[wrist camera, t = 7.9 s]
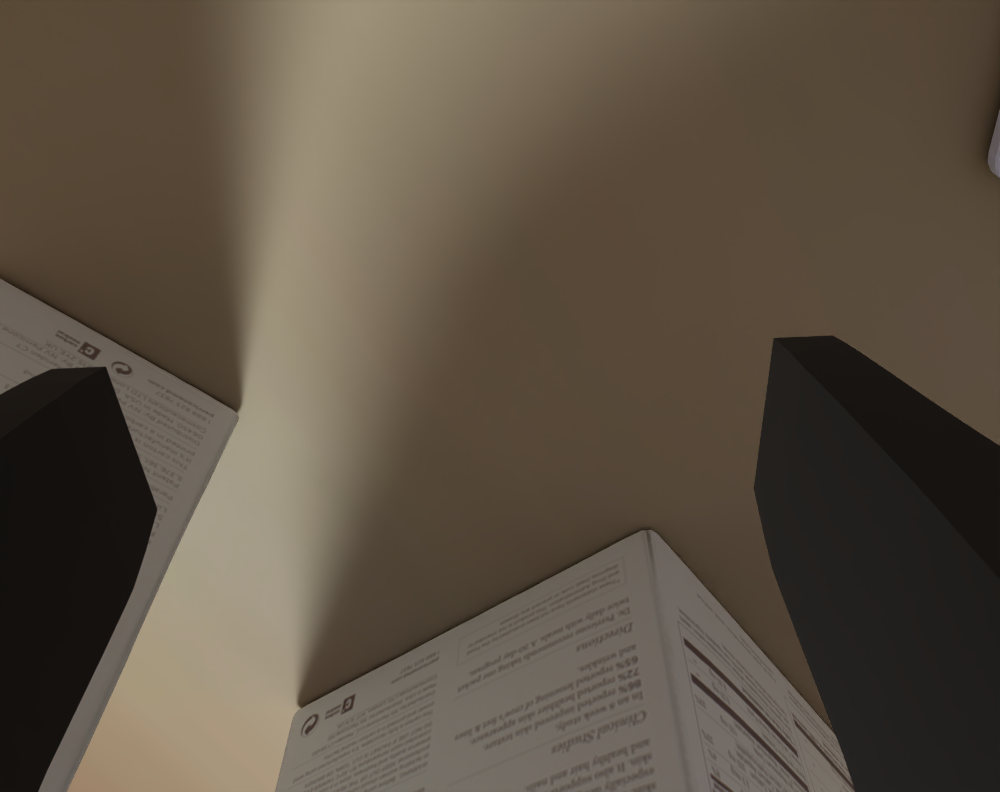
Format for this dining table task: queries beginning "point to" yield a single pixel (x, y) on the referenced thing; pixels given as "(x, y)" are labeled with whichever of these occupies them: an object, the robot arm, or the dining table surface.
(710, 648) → the supplement box
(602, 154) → the dining table surface
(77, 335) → the small box
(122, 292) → the dining table surface
